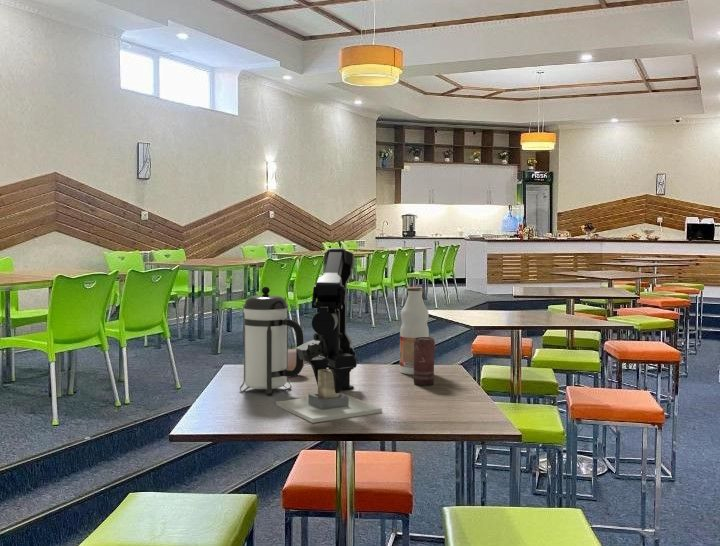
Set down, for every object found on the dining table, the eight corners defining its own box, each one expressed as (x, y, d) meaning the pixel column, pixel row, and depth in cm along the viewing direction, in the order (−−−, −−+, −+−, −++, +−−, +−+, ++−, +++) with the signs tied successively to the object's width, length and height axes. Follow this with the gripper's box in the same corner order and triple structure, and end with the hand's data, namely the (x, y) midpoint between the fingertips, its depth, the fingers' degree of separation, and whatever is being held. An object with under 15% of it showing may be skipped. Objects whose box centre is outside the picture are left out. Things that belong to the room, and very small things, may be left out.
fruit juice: (410, 376, 226) (411, 288, 224) (394, 371, 234) (394, 286, 232) (434, 373, 231) (435, 287, 229) (417, 368, 239) (418, 285, 237)
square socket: (308, 403, 184) (308, 394, 184) (333, 400, 188) (333, 390, 188) (322, 409, 178) (322, 400, 178) (348, 406, 182) (348, 396, 182)
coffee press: (240, 398, 194) (240, 289, 193) (238, 385, 210) (238, 284, 208) (303, 395, 198) (303, 288, 196) (296, 383, 213) (297, 284, 212)
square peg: (317, 404, 184) (317, 369, 183) (331, 402, 186) (331, 368, 185) (325, 407, 180) (325, 372, 180) (338, 405, 182) (339, 370, 182)
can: (433, 386, 211) (434, 339, 210) (412, 385, 212) (412, 339, 211) (435, 382, 217) (436, 336, 216) (414, 381, 218) (415, 336, 217)
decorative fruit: (284, 379, 219) (284, 347, 219) (273, 375, 226) (273, 344, 226) (311, 376, 224) (311, 345, 224) (299, 372, 231) (299, 341, 231)
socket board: (276, 405, 186) (276, 401, 186) (342, 396, 197) (342, 393, 197) (312, 422, 169) (312, 418, 169) (381, 412, 180) (382, 408, 180)
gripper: (284, 327, 186) (284, 386, 187) (318, 336, 170) (318, 400, 171) (321, 324, 192) (321, 381, 192) (358, 333, 176) (357, 395, 177)
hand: (328, 389), depth 183 cm, fingers open, 9 cm apart
